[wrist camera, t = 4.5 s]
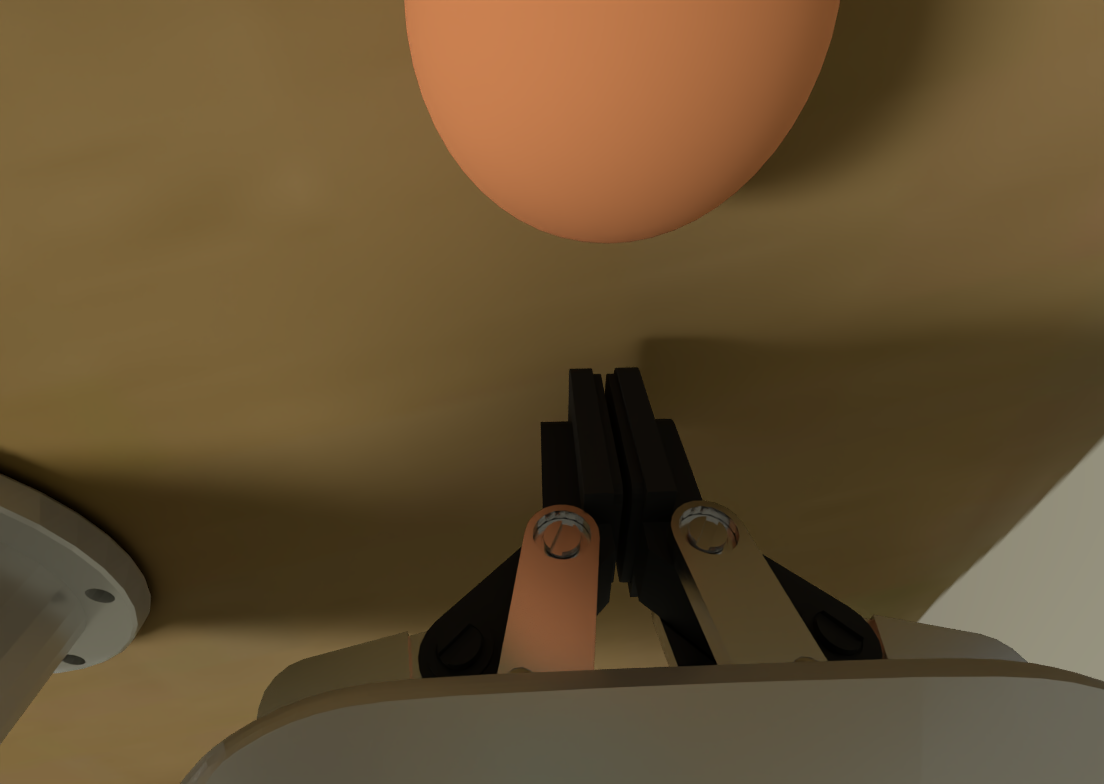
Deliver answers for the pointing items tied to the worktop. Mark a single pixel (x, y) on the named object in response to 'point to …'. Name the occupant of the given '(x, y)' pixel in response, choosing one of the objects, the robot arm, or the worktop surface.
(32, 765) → the worktop surface
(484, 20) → the ball
